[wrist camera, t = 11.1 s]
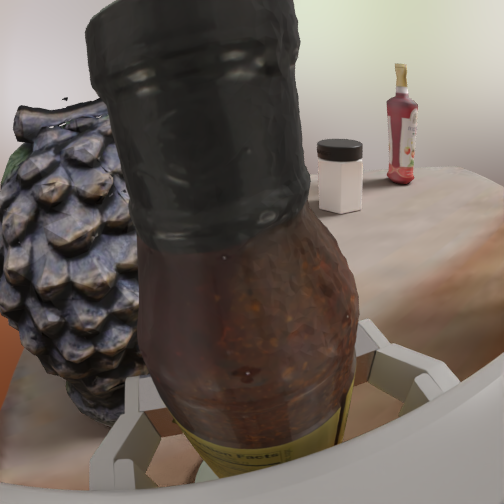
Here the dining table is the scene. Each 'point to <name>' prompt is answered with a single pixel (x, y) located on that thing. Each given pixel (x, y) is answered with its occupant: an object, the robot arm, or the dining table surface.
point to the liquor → (401, 130)
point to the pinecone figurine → (72, 254)
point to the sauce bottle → (227, 228)
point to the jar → (340, 175)
